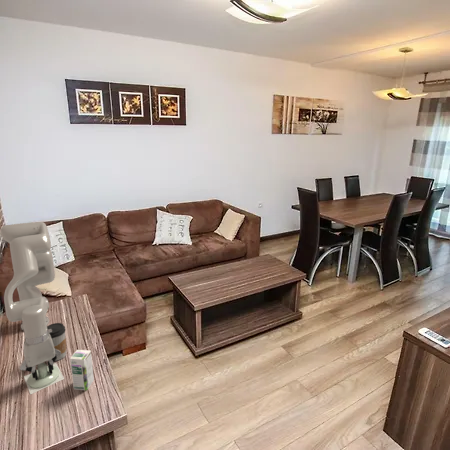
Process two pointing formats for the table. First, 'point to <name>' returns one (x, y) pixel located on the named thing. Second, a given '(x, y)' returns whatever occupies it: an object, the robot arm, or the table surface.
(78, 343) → the table surface
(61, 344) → the coffee cup
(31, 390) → the mat
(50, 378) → the lid
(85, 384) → the syrup box
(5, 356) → the table surface
